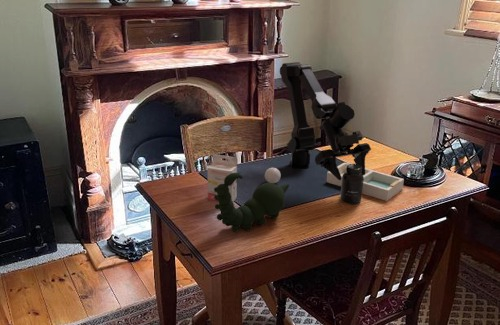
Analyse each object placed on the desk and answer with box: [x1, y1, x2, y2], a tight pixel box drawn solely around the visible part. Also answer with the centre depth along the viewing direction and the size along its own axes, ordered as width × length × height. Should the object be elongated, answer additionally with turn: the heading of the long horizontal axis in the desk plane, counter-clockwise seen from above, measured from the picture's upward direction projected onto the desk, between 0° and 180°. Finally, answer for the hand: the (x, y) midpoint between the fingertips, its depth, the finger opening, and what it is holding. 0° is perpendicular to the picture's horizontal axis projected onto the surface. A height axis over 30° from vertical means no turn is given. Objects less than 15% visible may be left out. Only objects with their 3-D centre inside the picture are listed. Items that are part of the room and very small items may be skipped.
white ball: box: [264, 167, 282, 184], centre depth 174 cm, size 8×6×6 cm
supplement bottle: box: [339, 163, 364, 205], centre depth 161 cm, size 7×7×12 cm
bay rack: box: [326, 162, 405, 202], centre depth 173 cm, size 23×12×4 cm, turn 50°
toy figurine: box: [214, 172, 290, 233], centre depth 145 cm, size 10×19×26 cm
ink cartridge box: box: [207, 153, 238, 203], centre depth 160 cm, size 9×5×15 cm, turn 71°
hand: (352, 177), depth 160 cm, fingers open, 9 cm apart
